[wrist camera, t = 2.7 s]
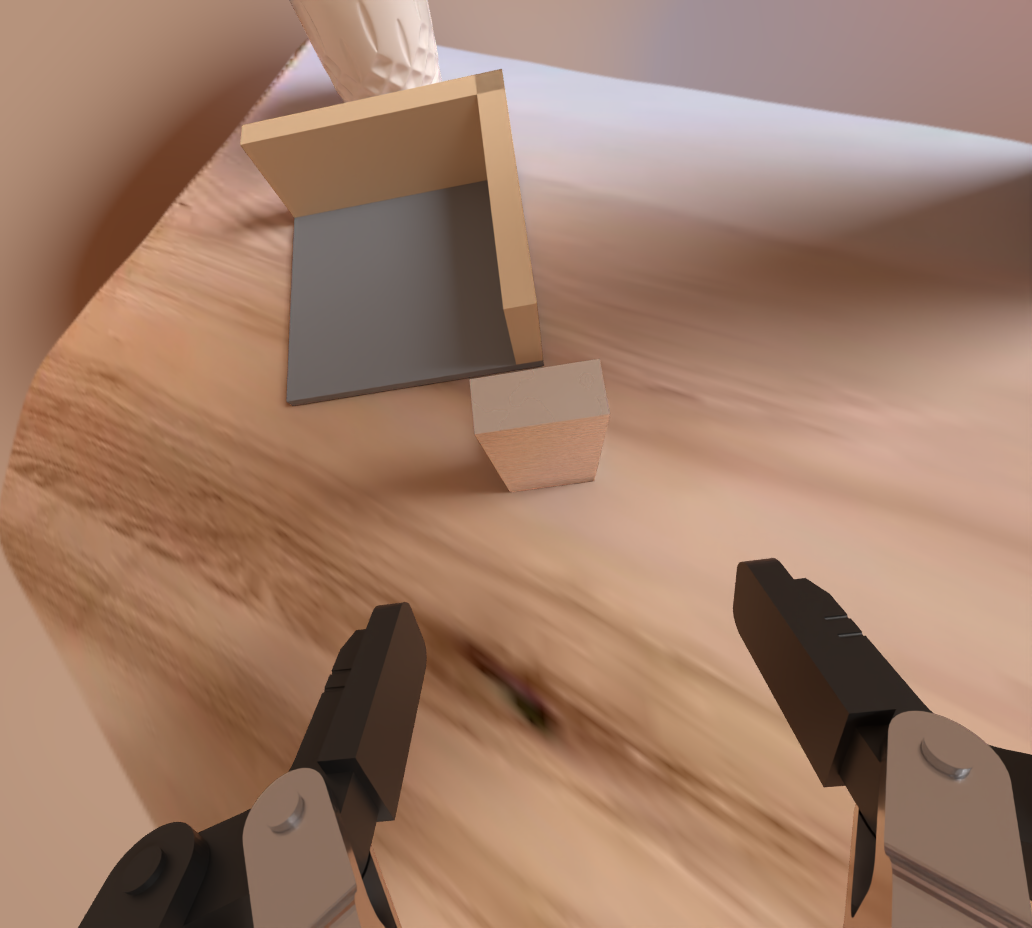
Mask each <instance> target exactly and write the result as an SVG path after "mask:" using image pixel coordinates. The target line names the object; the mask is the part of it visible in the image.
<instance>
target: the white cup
mask: <svg viewBox="0 0 1032 928" xmlns="http://www.w3.org/2000/svg"><path fill="white" fill-rule="evenodd" d="M290 3H291V4H292V6H293V9H294V10H295V12H296V14H297V16H298V18H299V20H300V22H301V24H302V26H303V28H304V30H305V32H306V34H307V36H308V38H309V40H310V42H311V44H312V46H313V48H314V50H315V52H316V53H317V55H318V57H319V59H320V61H321V63H322V65H323V67H324V69H325V70H326V72H327V73H328V75H329V77H330V79H331V81H332V83H333V85H334V87H335V89H336V91H337V93H338V94H339V95H340V96H341V97H342V99H343V101H344V103H347V102H351V101H356V100H361V99H365V98H370V97H374V96H379V95H384V94H388V93H393V92H398V91H402V90H407V89H411V88H416V87H421V86H425V85H430V84H434V83H439V82H442V78H441V73H440V69H439V64H438V52H437V47H436V42H435V37H434V32H433V26H432V20H431V14H430V9H429V5H428V0H290Z"/></svg>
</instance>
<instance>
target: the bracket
mask: <svg viewBox="0 0 1032 928" xmlns="http://www.w3.org/2000/svg"><path fill="white" fill-rule="evenodd" d="M469 380H470V390H471V401H472V412H473V423H474V434H475V436H476V438H477V439H478V441H479V443H480V444H481V446H482V447H483V449H484V451H485V452H486V454H487V456H488V457H489V459H490V460H491V462H492V464H493V465H494V467H495V469H496V470H497V472H498V473H499V475H500V477H501V478H502V480H503V482H504V483H505V485H506V486H507V488H508V490H509V491H510V492H517V491H525V490H532V489H539V488H547V487H554V486H561V485H568V484H576V483H583V482H590V481H594V480H595V475H596V471H597V467H598V463H599V459H600V455H601V450H602V446H603V442H604V438H605V434H606V430H607V425H608V421H609V417H610V410H609V405H608V400H607V395H606V389H605V384H604V379H603V374H602V368H601V363H600V359H594V360H588V361H581V362H575V363H569V364H562V365H556V366H550V367H544V368H537V369H531V370H525V371H519V372H512V373H506V374H500V375H494V376H487V377H481V378H475V379H469Z"/></svg>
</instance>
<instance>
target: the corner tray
mask: <svg viewBox="0 0 1032 928" xmlns="http://www.w3.org/2000/svg"><path fill="white" fill-rule="evenodd" d="M240 145H241V147H242V148H243V149H244V151H245V152H246V153H247V155H248V156H249V157H250V159H251V160H252V161H253V163H254V164H255V165H256V167H257V168H258V169H259V171H260V172H261V174H262V175H263V176H264V178H265V179H266V180H267V182H268V183H269V184H270V186H271V187H272V188H273V190H274V191H275V192H276V194H277V195H278V196H279V198H280V199H281V200H282V202H283V203H284V205H285V206H286V207H287V209H288V210H289V211H290V213H291V214H292V215H293V217H294V239H293V262H292V285H291V309H290V332H289V355H288V378H287V401H286V402H288V403H289V404H291V405H292V406H295V405H301V404H307V403H314V402H320V401H326V400H332V399H339V398H345V397H351V396H357V395H364V394H370V393H376V392H382V391H389V390H395V389H401V388H407V387H414V386H420V385H426V384H432V383H439V382H445V381H451V380H457V379H464V378H470V377H476V376H482V375H489V374H495V373H501V372H507V371H514V370H520V369H526V368H532V367H539V366H544V363H543V354H542V345H541V336H540V327H539V318H538V309H537V301H536V294H535V288H534V281H533V274H532V268H531V261H530V254H529V247H528V241H527V234H526V227H525V221H524V214H523V207H522V201H521V194H520V187H519V181H518V174H517V167H516V160H515V154H514V147H513V140H512V134H511V127H510V120H509V114H508V107H507V100H506V94H505V87H504V80H503V73H502V69H499V70H494V71H490V72H485V73H481V74H476V75H471V76H467V77H462V78H458V79H453V80H448V81H444V82H439V83H434V84H430V85H425V86H421V87H416V88H411V89H407V90H402V91H398V92H393V93H388V94H384V95H379V96H374V97H370V98H365V99H361V100H356V101H351V102H347V103H342V104H338V105H333V106H328V107H324V108H319V109H314V110H310V111H305V112H301V113H296V114H291V115H287V116H282V117H278V118H273V119H268V120H264V121H259V122H254V123H250V124H245V125H242V131H241V141H240Z"/></svg>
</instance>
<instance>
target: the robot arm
mask: <svg viewBox="0 0 1032 928" xmlns="http://www.w3.org/2000/svg"><path fill="white" fill-rule="evenodd" d="M733 614H734V619H735V623H736V626H737V629H738V632H739V634H740V636H741V638H742V640H743V641H744V643H745V645H746V647H747V649H748V650H749V652H750V654H751V656H752V658H753V659H754V661H755V663H756V665H757V667H758V669H759V670H760V672H761V674H762V676H763V678H764V679H765V681H766V683H767V685H768V687H769V689H770V690H771V692H772V694H773V696H774V698H775V699H776V701H777V703H778V705H779V707H780V709H781V710H782V712H783V714H784V716H785V718H786V719H787V721H788V723H789V725H790V727H791V729H792V730H793V732H794V734H795V736H796V738H797V739H798V741H799V743H800V745H801V747H802V749H803V750H804V752H805V754H806V756H807V758H808V759H809V761H810V763H811V765H812V767H813V768H814V770H815V772H816V774H817V776H818V778H819V779H820V781H821V783H822V785H823V787H834V786H846V787H847V789H848V791H849V793H850V794H851V796H852V798H853V799H854V801H855V803H856V805H855V808H854V815H853V827H852V838H851V849H850V861H849V872H848V883H847V895H846V906H845V916H844V924H843V928H1032V912H1031V906H1030V900H1031V901H1032V755H1031V754H1026V753H1021V752H1016V751H1011V750H1006V749H1002V748H998V747H994V746H991V745H988V744H986V743H985V742H984V741H983V740H982V739H981V738H980V737H978V736H977V735H976V734H974V733H973V732H971V731H970V730H968V729H967V728H965V727H964V726H962V725H960V724H958V723H956V722H955V721H952V720H950V719H948V718H946V717H943V716H940V715H937V714H934V713H933V712H932V711H930V710H929V709H928V708H927V706H926V705H925V704H924V703H923V702H922V701H921V700H920V699H919V698H918V696H917V695H916V694H915V693H914V692H913V691H912V689H911V688H910V687H909V686H908V685H907V684H906V682H905V681H904V680H903V679H902V678H901V677H900V675H899V674H898V673H897V672H896V671H895V670H894V668H893V667H892V666H891V665H890V664H889V663H888V661H887V660H886V659H885V658H884V657H883V656H882V654H881V653H880V652H879V651H878V650H877V649H876V647H875V646H874V645H873V644H872V643H871V642H870V640H869V639H868V638H867V637H866V636H863V635H862V631H861V630H860V629H859V628H858V626H857V625H856V624H855V623H854V622H853V621H852V619H851V618H850V619H849V618H848V617H847V614H846V612H845V611H844V610H843V609H842V608H841V607H840V605H839V604H838V603H837V602H836V601H835V600H834V598H833V597H832V596H831V595H830V594H829V593H827V592H826V591H824V590H823V589H821V588H820V587H818V586H817V585H815V584H814V583H812V582H811V581H809V580H808V579H806V578H802V579H793V578H792V576H791V575H790V574H789V573H788V571H787V570H786V569H785V568H784V566H783V565H782V564H781V563H780V562H779V561H778V560H777V559H775V558H769V559H761V560H753V561H745V562H740V563H739V564H738V566H737V574H736V583H735V593H734V603H733ZM425 669H426V647H425V642H424V640H423V637H422V634H421V632H420V629H419V627H418V624H417V622H416V619H415V617H414V614H413V612H412V609H411V607H410V605H409V604H408V603H407V602H403V603H395V604H387V605H379V606H376V607H375V608H374V610H373V612H372V615H371V617H370V620H369V623H368V625H367V628H366V629H363V630H356V631H355V632H354V634H353V635H352V636H351V637H350V638H349V640H348V641H347V642H346V643H345V645H344V646H343V647H342V648H341V649H340V652H339V654H338V657H337V659H336V661H335V664H334V666H333V669H332V675H330V676H329V678H328V681H327V683H326V686H325V692H324V693H322V695H321V698H320V700H319V702H318V705H317V707H316V710H315V712H314V714H313V717H312V719H311V722H310V724H309V726H308V729H307V731H306V734H305V736H304V738H303V741H302V743H301V746H300V748H299V751H298V753H297V755H296V758H295V760H294V762H293V764H292V766H291V768H290V770H289V772H288V773H286V774H284V775H282V776H281V777H279V778H278V779H277V780H275V781H274V782H273V783H272V784H271V785H270V786H268V787H267V788H266V789H265V791H264V792H263V793H262V794H261V795H260V796H259V798H258V799H257V801H256V802H255V804H254V805H253V807H252V808H251V809H249V810H247V811H245V812H243V813H241V814H239V815H237V816H234V817H232V818H230V819H228V820H226V821H223V822H221V823H219V824H217V825H214V826H212V827H210V828H208V829H206V830H203V831H201V832H199V833H197V832H196V831H195V830H194V829H192V828H191V827H190V826H189V825H187V824H186V823H182V822H173V823H169V824H166V825H163V826H161V827H159V828H157V829H155V830H153V831H152V832H151V833H149V834H147V835H146V836H145V837H143V838H142V839H141V840H140V841H138V842H137V843H136V844H135V845H134V846H133V847H132V848H131V849H130V850H129V851H128V852H127V853H126V854H125V855H124V856H123V857H122V858H121V860H120V861H119V862H118V863H117V865H116V866H115V867H114V869H113V870H112V871H111V873H110V875H109V876H108V878H107V879H106V881H105V883H104V885H103V886H102V888H101V890H100V891H99V893H98V895H97V896H96V898H95V900H94V901H93V903H92V905H91V907H90V908H89V910H88V912H87V914H86V915H85V917H84V919H83V920H82V922H81V924H80V925H79V927H78V928H402V927H401V924H400V921H399V918H398V916H397V913H396V910H395V907H394V905H393V902H392V899H391V896H390V894H389V891H388V888H387V886H386V883H385V880H384V877H383V875H382V872H381V869H380V866H379V864H378V861H377V858H376V855H375V853H374V850H373V848H372V845H371V843H372V838H373V834H374V830H375V826H376V822H380V821H392V820H395V816H396V811H397V806H398V801H399V796H400V791H401V787H402V782H403V777H404V772H405V767H406V762H407V757H408V752H409V747H410V743H411V738H412V733H413V728H414V723H415V718H416V713H417V708H418V703H419V699H420V694H421V689H422V684H423V679H424V674H425Z"/></svg>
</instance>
